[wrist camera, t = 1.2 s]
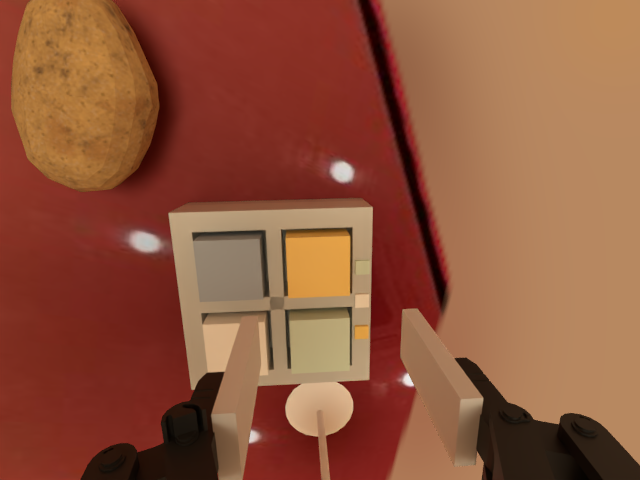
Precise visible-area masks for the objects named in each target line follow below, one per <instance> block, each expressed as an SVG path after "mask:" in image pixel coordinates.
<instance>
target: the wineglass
mask: <svg viewBox="0 0 640 480" xmlns="http://www.w3.org/2000/svg"><path fill="white" fill-rule="evenodd" d="M285 409H286V416H287V419H288V421H289V423H290V424H291V425H292V426H293V427H294V428H295V429H296V430H297V431H299V432H301V433H303V434H305V435H310V436H318V440H319V453H320V467H321V480H330V473H329V463H328V453H327V443H326V435H329V434H332V433H335V432H337V431H338V430H340V429H341V428H342V427H344V426H345V425H346V423H347V422H348V421H349V419H350V418H351V415H352V412H353V400H352V397H351V395H350V393H349V391H348V390H347V389H346V388H345V387H344V386H343V385H341V384H339V383H337V382H322V383H304V384H301V385H299V386H298V387H297V388H295V389H294V390H293V391H292V393H291V394H290V395H289V397H288V399H287V403H286V406H285Z"/></svg>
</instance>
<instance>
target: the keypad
mask: <svg viewBox="0 0 640 480" xmlns="http://www.w3.org/2000/svg"><path fill="white" fill-rule="evenodd" d="M168 214H169V221H170V229H171V237H172V244H173V252H174V260H175V267H176V275H177V283H178V290H179V298H180V306H181V313H182V321H183V329H184V336H185V344H186V352H187V359H188V367H189V375H190V383H191V390H195V387H196V385H197V383H198V381H199V380H200V379H201V378H202V377H203V376H204V375H205V374H206V373H208V370H207V361H206V352H205V343H204V335H203V326H202V325H203V323H204V321H205V319H206V317H207V315H208V313H219V312H241V311H264V310H267V312H268V329H269V345H270V364H269V372H268V375H262V376H259V381H258V386H269V385H286V384H304V383H322V382H339V381H357V380H369V364H370V316H371V268H372V220H373V207H372V206H371V205H370V204H368V203H367V202H366V201H365V200H363V199H362V198H338V199H301V200H264V201H227V202H190V203H186V204H185V205H183V206H181V207H179V208H177V209H175V210H173V211H171V212H169V213H168ZM316 229H346V230H347V232H348V233H349V235H350V296H331V297H308V298H288V281H287V259H286V231H287V230H316ZM254 231H263V247H264V263H265V280H266V289H265V294H264V298H263V299H261V300H238V301H215V302H200V300H199V291H198V282H197V273H196V265H195V256H194V247H193V241H194V240H195V239H196V238H197V237H198V236H199V235H200V234H201V233H222V232H254ZM331 307H347V310H348V314H349V317H350V371H335V372H317V373H299V374H292V371H291V349H290V326H289V315H290V309H308V308H331Z"/></svg>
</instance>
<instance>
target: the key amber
mask: <svg viewBox="0 0 640 480" xmlns="http://www.w3.org/2000/svg"><path fill="white" fill-rule="evenodd" d="M286 259H287V281H288V298H308V297H331V296H350V235H349V233H348V232H347V230H346V229H316V230H287V231H286Z"/></svg>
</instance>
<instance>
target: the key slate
mask: <svg viewBox="0 0 640 480" xmlns="http://www.w3.org/2000/svg"><path fill="white" fill-rule="evenodd" d="M193 247H194V256H195V265H196V273H197V282H198V291H199V300H200V302H215V301H238V300H261V299H263V298H264V294H265V289H266V280H265V263H264V247H263V231H254V232H222V233H201V234H200V235H199V236H198V237H197V238H196V239H195V240H194V241H193Z"/></svg>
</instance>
